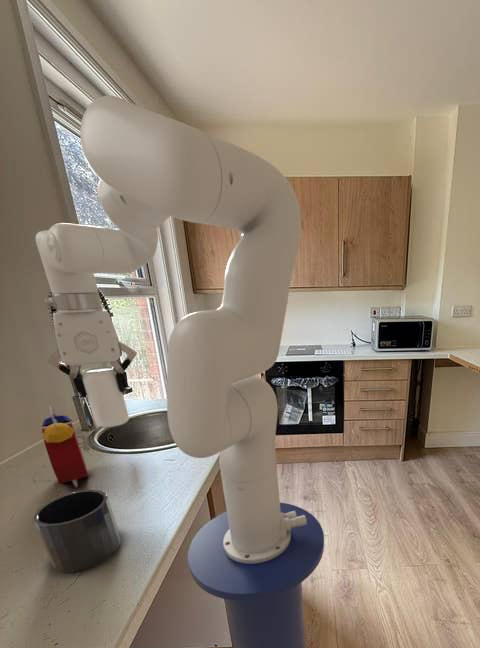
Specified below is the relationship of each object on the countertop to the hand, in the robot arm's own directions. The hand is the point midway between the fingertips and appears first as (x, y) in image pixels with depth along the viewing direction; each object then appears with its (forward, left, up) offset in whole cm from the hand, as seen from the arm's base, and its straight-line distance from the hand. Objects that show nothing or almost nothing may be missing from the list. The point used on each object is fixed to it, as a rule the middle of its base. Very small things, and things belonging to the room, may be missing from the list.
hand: (104, 392), depth 74 cm
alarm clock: (+13, -13, -25) cm, 31 cm away
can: (0, 0, -7) cm, 7 cm away
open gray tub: (+5, +20, -25) cm, 32 cm away
